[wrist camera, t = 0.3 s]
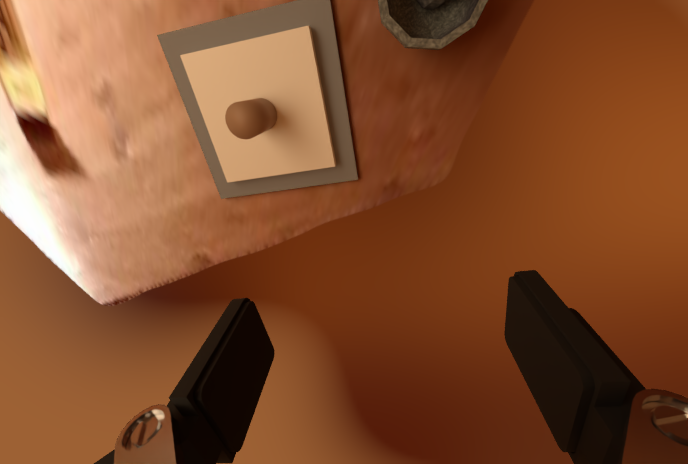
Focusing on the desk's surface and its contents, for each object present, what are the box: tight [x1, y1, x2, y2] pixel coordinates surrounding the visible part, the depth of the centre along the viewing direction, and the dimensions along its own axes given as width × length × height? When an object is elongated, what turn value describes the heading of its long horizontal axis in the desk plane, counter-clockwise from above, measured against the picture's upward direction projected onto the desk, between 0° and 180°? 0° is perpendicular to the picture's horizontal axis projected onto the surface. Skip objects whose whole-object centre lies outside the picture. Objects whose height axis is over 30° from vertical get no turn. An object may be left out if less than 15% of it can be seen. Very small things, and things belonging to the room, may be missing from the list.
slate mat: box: [157, 0, 358, 199], centre depth 36 cm, size 20×20×1 cm
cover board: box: [180, 25, 336, 183], centre depth 32 cm, size 15×15×7 cm
